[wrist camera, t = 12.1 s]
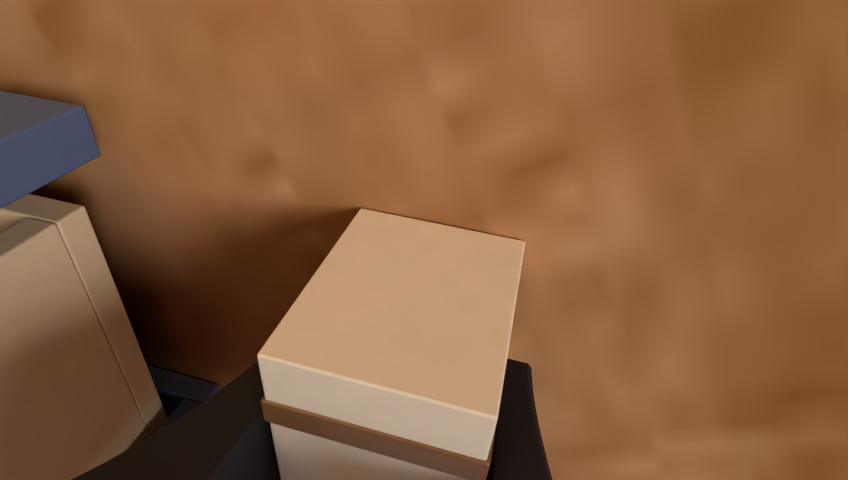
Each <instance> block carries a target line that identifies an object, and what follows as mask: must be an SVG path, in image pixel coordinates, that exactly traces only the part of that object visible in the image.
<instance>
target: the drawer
mask: <svg viewBox="0 0 848 480" xmlns="http://www.w3.org/2000/svg"><path fill="white" fill-rule="evenodd" d="M99 156H100V151H99V148H98V145H97V142H96V139H95V136H94V133H93V130H92V127H91V124H90V122H89V119H88V116H87V113H86V110H85V108H84V107H83V106H81V105H75V104H70V103H64V102H59V101H53V100H48V99H43V98H37V97H32V96H26V95H21V94H15V93H10V92H4V91H0V480H71V479H73V478H75V477H77V476H79V475H81V474H83V473H85V472H87V471H89V470H91V469H93V468H95V467H97V466H99V465H101V464H103V463H105V462H107V461H108V460H110V459H112V458H114V457H116V456H118V455H119V454H121V453H123V452H125V451H127V450H128V449H130V448H132V447H133V446H135V445H137V444H138V443H140V442H142V441H144V440H145V439H147V438H149V437H150V436H152V435H154V434H156V432H157V431H158V430H159V429H160V427H161V426H162V425H163V424H164V422H165V421H166V420H167V415H166V413H165V410H164V408H163V405H162V403H161V400H160V398H159V395H158V392H157V390H156V387H155V385H154V382H153V380H152V377H151V375H150V372H149V369H148V367H147V364H146V362H145V359H144V357H143V354H142V352H141V349H140V347H139V344H138V341H137V339H136V336H135V334H134V331H133V329H132V326H131V324H130V321H129V318H128V316H127V313H126V311H125V308H124V306H123V303H122V301H121V298H120V296H119V293H118V290H117V288H116V285H115V283H114V280H113V278H112V275H111V273H110V270H109V267H108V265H107V262H106V260H105V257H104V255H103V252H102V250H101V247H100V245H99V242H98V239H97V237H96V234H95V232H94V229H93V227H92V224H91V222H90V219H89V216H88V214H87V211H86V209H85V207H84V206H82V205H77V204H73V203H68V202H64V201H59V200H55V199H50V198H46V197H41V196H37V195H32V194H29V193H31V192H33V191H35V190H37V189H39V188H41V187H42V186H44V185H46V184H48V183H50V182H52V181H54V180H56V179H57V178H59V177H61V176H63V175H65V174H67V173H69V172H71V171H72V170H74V169H76V168H78V167H80V166H82V165H84V164H86V163H87V162H89V161H91V160H93V159H95V158H97V157H99Z"/></svg>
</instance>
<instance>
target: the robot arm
mask: <svg viewBox="0 0 848 480" xmlns="http://www.w3.org/2000/svg"><path fill="white" fill-rule="evenodd" d="M263 396H264V390H263V385H262V380H261V374H260V369H259V364H258V361H257V362H256V363H255V364H254V365H253V366H251V367H250V368H249V369H248V370H246V371H245V372H244V373H243V374H241V375H240V376H239V377H237V378H236V379H235V380H233V381H232V382H231V383H229V384H228V385H227V386H225V387H224V388H222V389H221V390H220V391H218V392H217V393H216V394H214V395H213V396H212V397H210V398H209V399H207V400H206V401H205V402H203V403H202V404H200V405H199V406H197V407H196V408H194V409H193V410H192V411H190V412H189V413H187V414H186V415H184V416H183V417H181V418H179V419H178V420H176V421H175V422H173V423H172V424H170V425H168V426H167V427H165V428H164V429H162V430H160V431H159V432H157V433H156V434H154V435H152V436H150V437H149V438H147V439H145V440H144V441H142V442H140V443H138V444H137V445H135V446H133V447H132V448H130V449H128V450H127V451H125V452H123V453H121V454H119V455H118V456H116V457H114V458H112V459H110V460H108V461H107V462H105V463H103V464H101V465H99V466H97V467H95V468H93V469H91V470H89V471H87V472H85V473H83V474H81V475H79V476H77V477H75V478H73V479H71V480H281V478H280V473H279V468H278V463H277V458H276V452H275V447H274V442H273V437H272V432H271V426H270V423H269V422H266V421H265V420H264V417H263V412H262V407H261V399H262V397H263ZM486 480H552V477H551V473H550V470H549V466H548V462H547V458H546V454H545V450H544V446H543V442H542V437H541V433H540V428H539V424H538V418H537V413H536V407H535V401H534V395H533V386H532V373H531V367H530V366H529V365H528V363H523V362H519V361H515V360H511V359H507V363H506V370H505V376H504V382H503V389H502V395H501V402H500V408H499V414H498V420H497V424H496V431H495V437H494V443H493V450H492V456H491V462H490V467H489V471H488V474H487V478H486Z"/></svg>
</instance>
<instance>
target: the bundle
mask: <svg viewBox="0 0 848 480" xmlns="http://www.w3.org/2000/svg"><path fill="white" fill-rule="evenodd" d="M524 249H525V242H524V241H521V240H516V239H511V238H506V237H501V236H496V235H491V234H486V233H481V232H476V231H471V230H466V229H461V228H456V227H452V226H447V225H442V224H437V223H432V222H427V221H422V220H417V219H412V218H407V217H402V216H397V215H392V214H387V213H382V212H377V211H372V210H367V209H360V210H359V212H358V213H357V214H356V216H355V217H354V219H353V220H352V221H351V223H350V224H349V226H348V227H347V228H346V230H345V231H344V233H343V234H342V235H341V237H340V238H339V240H338V241H337V243H336V244H335V245H334V247H333V248H332V250H331V251H330V252H329V254H328V255H327V257H326V258H325V259H324V261H323V262H322V264H321V265H320V266H319V268H318V269H317V271H316V272H315V274H314V275H313V276H312V278H311V279H310V281H309V282H308V283H307V285H306V286H305V288H304V289H303V290H302V292H301V293H300V295H299V296H298V298H297V299H296V300H295V302H294V303H293V305H292V306H291V307H290V309H289V310H288V312H287V313H286V314H285V316H284V317H283V319H282V320H281V321H280V323H279V324H278V326H277V327H276V329H275V330H274V331H273V333H272V334H271V336H270V337H269V338H268V340H267V341H266V343H265V344H264V345H263V347H262V348H261V350H260V351H259V352H258V354H257V359H258V364H259V369H260V374H261V380H262V385H263V390H264V396H263V397H262V399H261V407H262V412H263V417H264V420H265V421H266V422H269V423H270V426H271V432H272V437H273V442H274V447H275V452H276V458H277V463H278V468H279V473H280V478H281V480H486V478H487V474H488V471H489V467H490V462H491V456H492V450H493V443H494V437H495V431H496V424H497V420H498V414H499V408H500V402H501V395H502V389H503V382H504V376H505V370H506V363H507V357H508V351H509V344H510V338H511V332H512V325H513V319H514V312H515V306H516V300H517V293H518V287H519V281H520V274H521V268H522V261H523V255H524Z"/></svg>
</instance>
